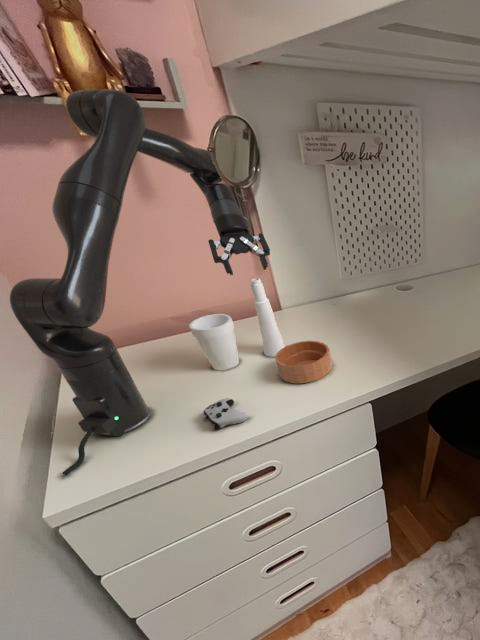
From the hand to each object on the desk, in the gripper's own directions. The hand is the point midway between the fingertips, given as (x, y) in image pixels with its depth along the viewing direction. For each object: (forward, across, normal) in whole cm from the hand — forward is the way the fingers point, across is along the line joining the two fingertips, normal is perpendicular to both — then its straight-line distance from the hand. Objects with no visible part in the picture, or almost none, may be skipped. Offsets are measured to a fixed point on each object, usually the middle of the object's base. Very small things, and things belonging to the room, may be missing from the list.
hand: (248, 271), depth 112 cm
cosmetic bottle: (+22, 0, +8) cm, 24 cm away
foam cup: (+22, -13, +8) cm, 27 cm away
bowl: (+33, +4, -3) cm, 33 cm away
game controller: (+40, -17, -10) cm, 44 cm away
